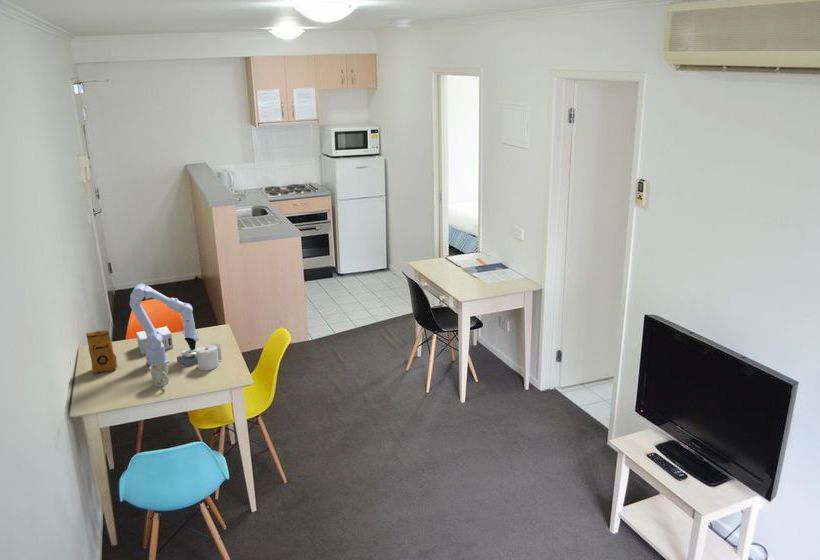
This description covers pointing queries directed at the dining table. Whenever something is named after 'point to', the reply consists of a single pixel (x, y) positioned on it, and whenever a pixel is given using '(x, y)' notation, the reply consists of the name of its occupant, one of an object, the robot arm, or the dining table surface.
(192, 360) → the switch housing
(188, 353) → the rocker
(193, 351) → the rocker
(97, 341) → the coffee package
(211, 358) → the toilet tissue
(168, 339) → the supplement box
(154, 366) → the mug
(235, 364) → the dining table surface
